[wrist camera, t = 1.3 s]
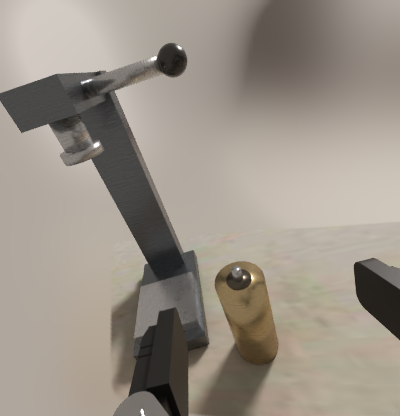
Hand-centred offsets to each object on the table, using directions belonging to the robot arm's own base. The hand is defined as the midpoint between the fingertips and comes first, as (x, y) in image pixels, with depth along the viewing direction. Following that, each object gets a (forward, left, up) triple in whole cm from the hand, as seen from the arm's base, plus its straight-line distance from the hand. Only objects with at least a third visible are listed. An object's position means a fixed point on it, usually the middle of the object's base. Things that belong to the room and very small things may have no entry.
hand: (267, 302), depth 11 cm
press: (-4, -22, -22) cm, 32 cm away
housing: (-5, -10, -22) cm, 25 cm away
